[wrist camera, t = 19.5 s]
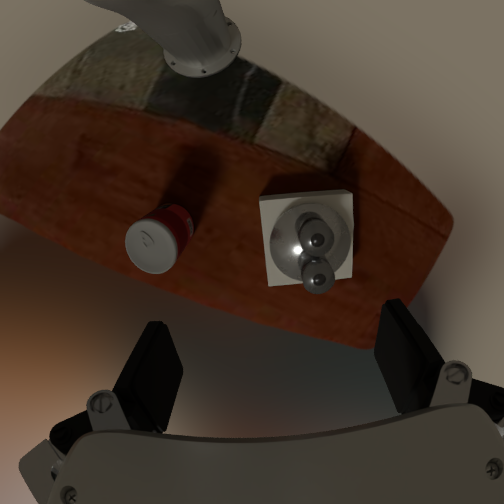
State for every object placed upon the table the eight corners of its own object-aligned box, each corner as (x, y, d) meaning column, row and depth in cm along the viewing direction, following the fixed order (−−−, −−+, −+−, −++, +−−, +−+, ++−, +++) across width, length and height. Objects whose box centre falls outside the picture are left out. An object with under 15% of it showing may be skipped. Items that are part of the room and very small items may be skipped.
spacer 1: (293, 212, 38) (299, 224, 32) (323, 210, 38) (334, 221, 32) (295, 241, 40) (301, 258, 34) (324, 239, 39) (334, 254, 34)
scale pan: (265, 206, 39) (265, 207, 38) (348, 199, 38) (350, 200, 37) (273, 283, 43) (273, 285, 42) (348, 275, 42) (349, 277, 41)
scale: (259, 196, 43) (259, 201, 38) (346, 189, 41) (355, 194, 37) (268, 275, 48) (268, 287, 44) (347, 267, 47) (354, 278, 43)
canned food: (169, 192, 43) (142, 208, 33) (204, 223, 45) (188, 247, 34) (144, 225, 45) (115, 248, 35) (178, 254, 47) (157, 284, 37)
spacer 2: (296, 249, 40) (302, 266, 34) (325, 246, 40) (335, 262, 34) (298, 275, 42) (303, 296, 36) (326, 272, 41) (335, 292, 36)
